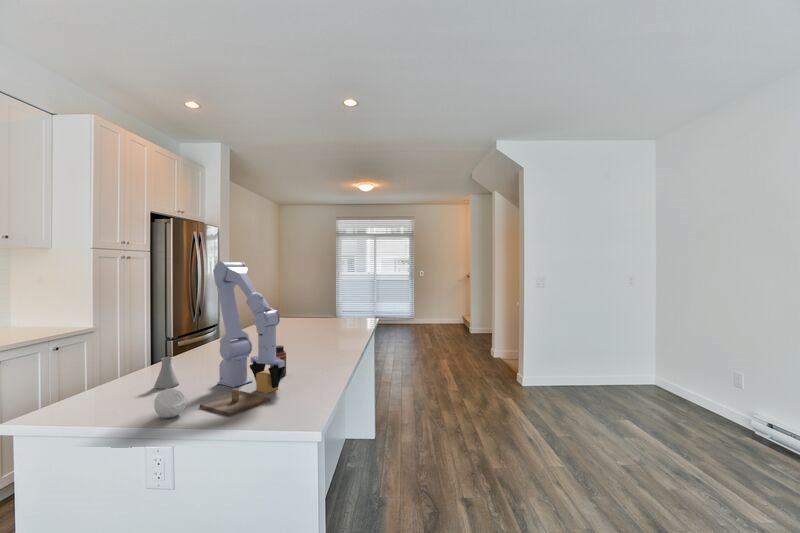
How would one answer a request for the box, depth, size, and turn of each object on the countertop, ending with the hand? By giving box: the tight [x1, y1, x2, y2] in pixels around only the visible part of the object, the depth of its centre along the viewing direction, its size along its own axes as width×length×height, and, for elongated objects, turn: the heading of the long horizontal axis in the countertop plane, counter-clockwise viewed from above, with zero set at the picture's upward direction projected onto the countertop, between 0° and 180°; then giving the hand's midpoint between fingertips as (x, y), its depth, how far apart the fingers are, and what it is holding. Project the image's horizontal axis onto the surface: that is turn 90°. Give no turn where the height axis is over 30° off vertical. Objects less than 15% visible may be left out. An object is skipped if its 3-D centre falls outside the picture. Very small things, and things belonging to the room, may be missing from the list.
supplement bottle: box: [269, 344, 287, 378], centre depth 144 cm, size 6×6×11 cm
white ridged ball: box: [153, 387, 188, 419], centre depth 105 cm, size 8×8×8 cm
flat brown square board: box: [199, 387, 271, 417], centre depth 114 cm, size 14×14×4 cm
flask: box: [153, 356, 180, 390], centre depth 132 cm, size 7×7×10 cm
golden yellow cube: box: [255, 369, 279, 394], centre depth 127 cm, size 5×5×6 cm
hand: (267, 385), depth 127 cm, fingers open, 7 cm apart
